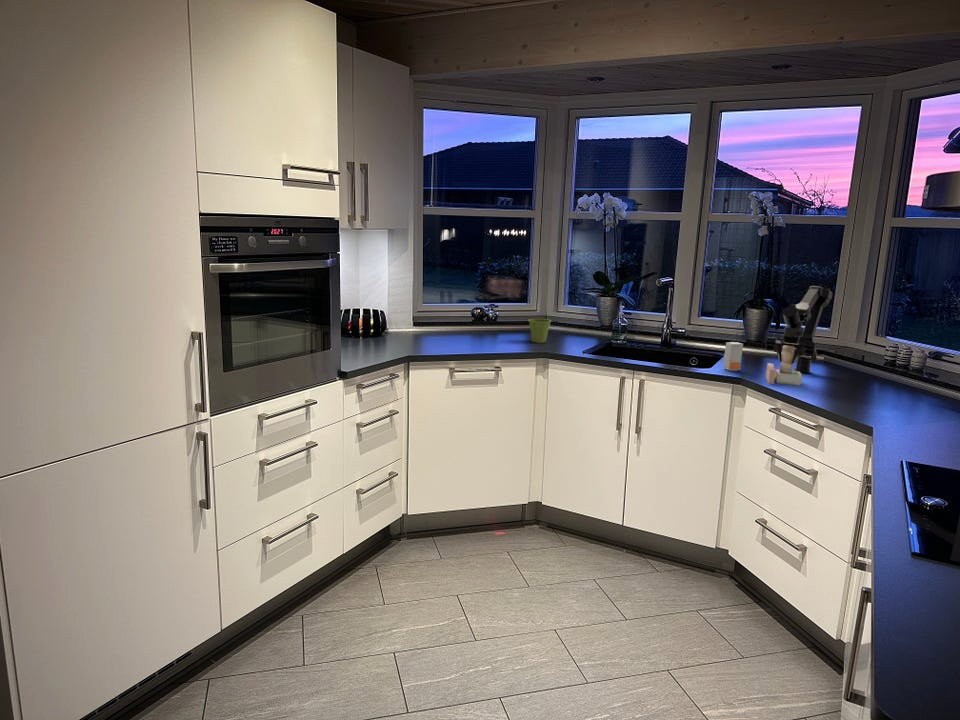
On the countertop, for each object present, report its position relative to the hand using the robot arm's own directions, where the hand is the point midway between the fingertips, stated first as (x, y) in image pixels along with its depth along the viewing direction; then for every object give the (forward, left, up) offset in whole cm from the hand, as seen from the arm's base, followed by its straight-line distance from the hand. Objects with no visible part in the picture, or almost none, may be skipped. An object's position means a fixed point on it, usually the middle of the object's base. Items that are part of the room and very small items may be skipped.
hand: (786, 362), depth 274 cm
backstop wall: (-1, -5, -9) cm, 10 cm away
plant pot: (-40, -113, -9) cm, 120 cm away
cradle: (-1, +2, -8) cm, 9 cm away
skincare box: (-17, -20, -9) cm, 28 cm away
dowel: (-1, 0, -7) cm, 7 cm away
